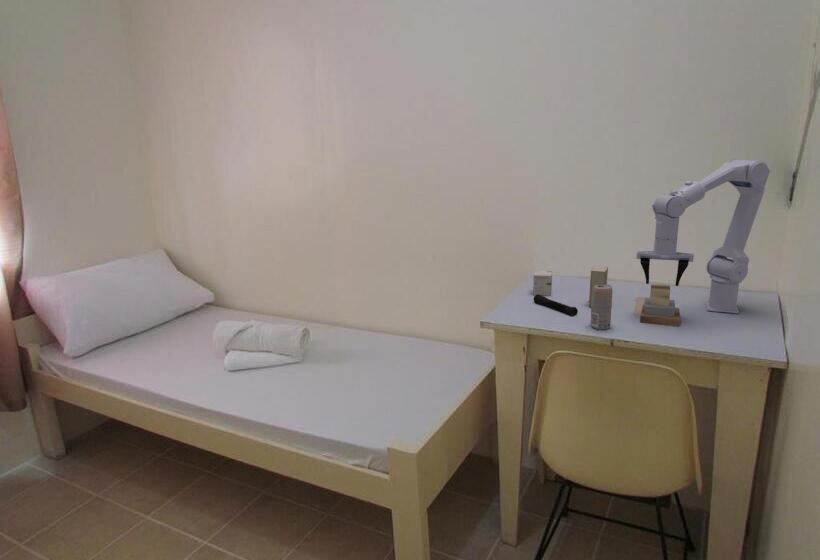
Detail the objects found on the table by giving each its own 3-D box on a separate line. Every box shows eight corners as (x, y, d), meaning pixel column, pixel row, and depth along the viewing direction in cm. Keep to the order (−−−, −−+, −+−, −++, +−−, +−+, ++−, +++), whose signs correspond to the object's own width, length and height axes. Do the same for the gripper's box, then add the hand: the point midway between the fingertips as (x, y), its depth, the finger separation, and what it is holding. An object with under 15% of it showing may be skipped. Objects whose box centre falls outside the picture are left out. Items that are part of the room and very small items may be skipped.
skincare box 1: (532, 295, 179) (533, 274, 177) (534, 290, 185) (534, 270, 183) (551, 296, 177) (551, 275, 175) (551, 290, 183) (552, 270, 181)
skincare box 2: (592, 300, 170) (593, 265, 167) (606, 302, 168) (608, 266, 165) (588, 306, 165) (590, 270, 162) (603, 308, 163) (605, 271, 160)
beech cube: (649, 299, 155) (651, 283, 154) (668, 301, 153) (669, 285, 152) (649, 305, 151) (650, 288, 150) (668, 306, 149) (670, 290, 147)
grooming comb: (630, 297, 173) (630, 295, 173) (663, 301, 168) (664, 298, 168) (620, 315, 159) (620, 312, 158) (656, 320, 153) (656, 317, 153)
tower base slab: (642, 312, 159) (642, 304, 158) (678, 316, 155) (679, 308, 154) (640, 323, 151) (640, 315, 150) (678, 328, 146) (679, 319, 146)
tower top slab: (644, 305, 158) (644, 297, 157) (673, 308, 155) (674, 300, 154) (643, 314, 151) (644, 306, 150) (674, 317, 148) (675, 308, 147)
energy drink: (605, 322, 152) (608, 283, 148) (613, 329, 147) (616, 288, 143) (587, 323, 152) (589, 284, 148) (594, 330, 147) (596, 289, 143)
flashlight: (540, 301, 173) (540, 293, 172) (578, 315, 159) (578, 306, 158) (533, 303, 172) (533, 295, 171) (570, 317, 158) (571, 308, 157)
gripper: (637, 239, 146) (634, 285, 150) (695, 242, 140) (690, 290, 144) (638, 234, 152) (635, 279, 156) (694, 236, 146) (690, 283, 150)
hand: (662, 284), depth 150 cm, fingers open, 7 cm apart
